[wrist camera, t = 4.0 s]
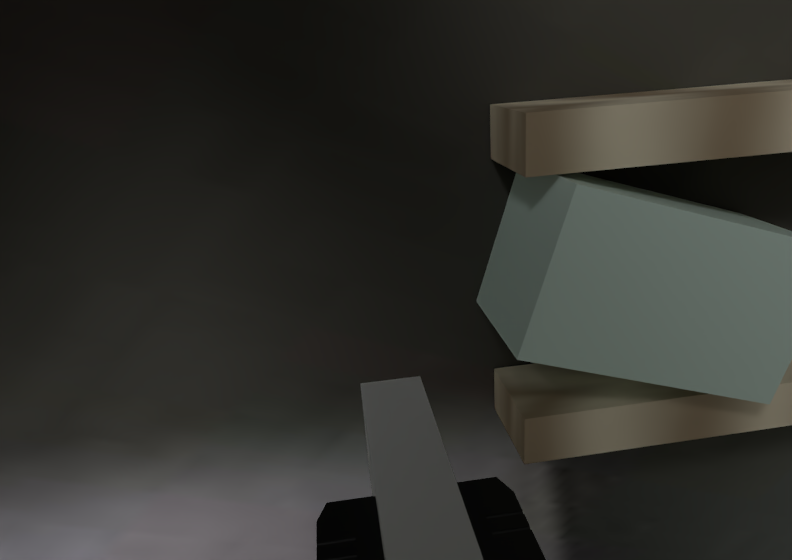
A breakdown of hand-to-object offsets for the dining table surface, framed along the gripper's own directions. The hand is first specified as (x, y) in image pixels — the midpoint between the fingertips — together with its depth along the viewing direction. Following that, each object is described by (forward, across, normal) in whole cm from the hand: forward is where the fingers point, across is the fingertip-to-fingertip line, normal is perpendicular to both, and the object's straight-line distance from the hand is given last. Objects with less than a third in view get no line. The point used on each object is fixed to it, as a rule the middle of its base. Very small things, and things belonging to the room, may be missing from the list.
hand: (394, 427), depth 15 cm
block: (+10, +10, 0) cm, 14 cm away
